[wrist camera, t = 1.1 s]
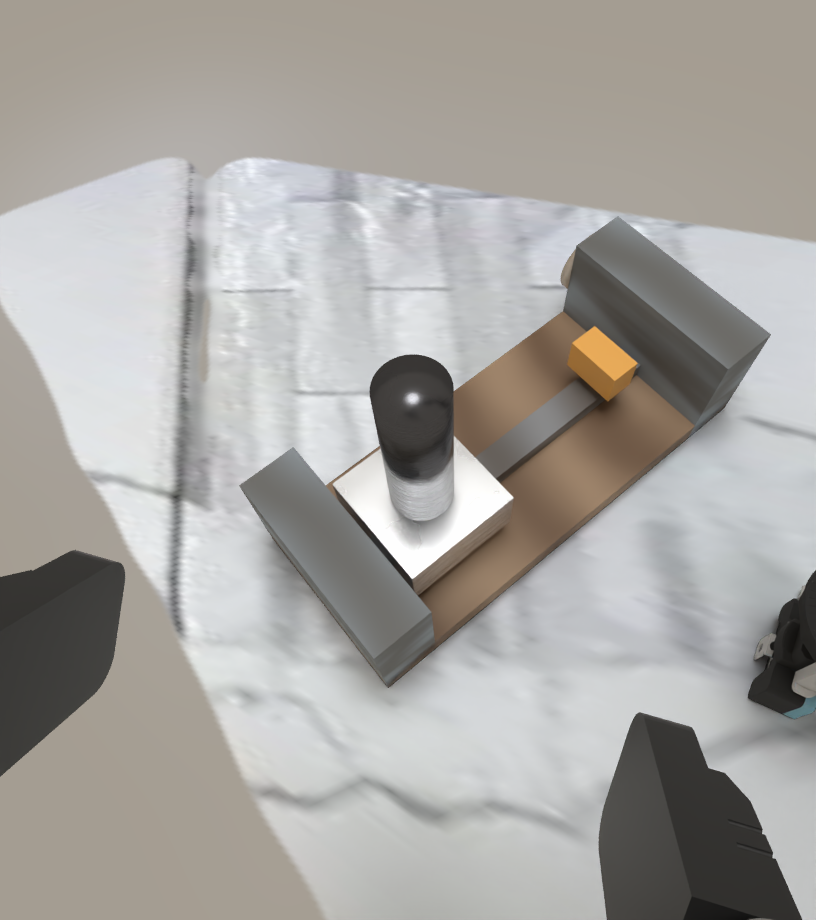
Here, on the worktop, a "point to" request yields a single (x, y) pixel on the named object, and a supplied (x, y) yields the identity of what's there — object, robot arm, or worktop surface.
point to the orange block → (601, 363)
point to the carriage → (421, 477)
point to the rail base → (530, 445)
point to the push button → (790, 658)
